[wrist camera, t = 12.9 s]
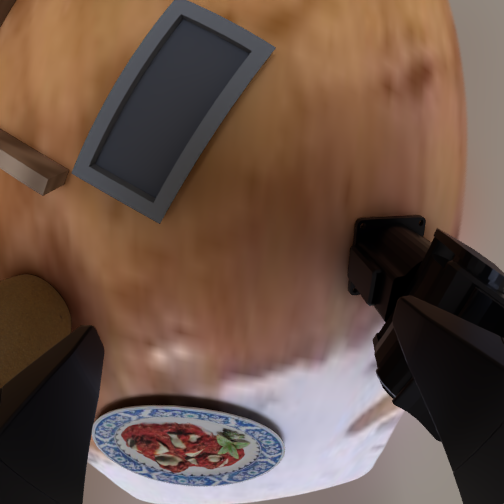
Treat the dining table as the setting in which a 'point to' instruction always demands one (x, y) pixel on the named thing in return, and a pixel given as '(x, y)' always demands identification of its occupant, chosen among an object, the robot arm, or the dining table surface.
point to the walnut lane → (28, 152)
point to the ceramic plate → (187, 444)
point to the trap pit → (168, 106)
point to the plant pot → (29, 322)
